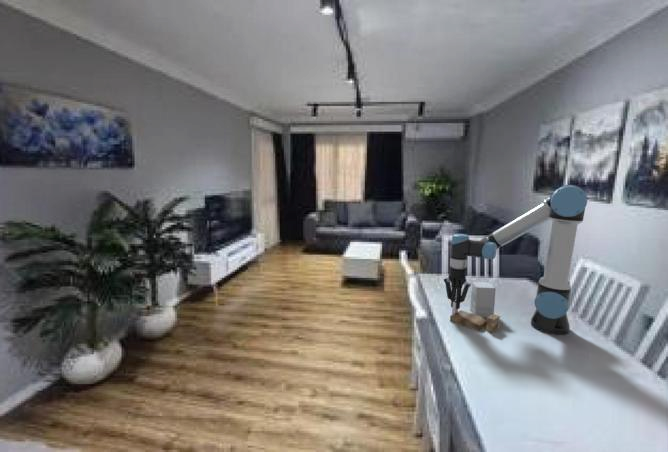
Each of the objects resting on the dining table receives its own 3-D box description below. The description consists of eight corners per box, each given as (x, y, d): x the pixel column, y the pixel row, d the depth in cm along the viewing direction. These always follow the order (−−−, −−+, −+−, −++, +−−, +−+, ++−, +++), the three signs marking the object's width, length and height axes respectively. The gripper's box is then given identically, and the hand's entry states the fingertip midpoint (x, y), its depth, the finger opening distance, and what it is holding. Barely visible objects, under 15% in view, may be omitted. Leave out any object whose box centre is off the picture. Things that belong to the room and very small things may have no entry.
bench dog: (498, 328, 164) (499, 316, 163) (492, 332, 160) (493, 319, 159) (491, 326, 166) (493, 314, 166) (486, 330, 162) (487, 317, 161)
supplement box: (488, 310, 185) (490, 282, 183) (493, 318, 176) (496, 288, 174) (469, 310, 186) (471, 281, 184) (474, 317, 177) (476, 287, 175)
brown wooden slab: (488, 325, 169) (489, 319, 169) (478, 331, 162) (479, 325, 162) (460, 316, 179) (460, 310, 179) (450, 321, 172) (450, 315, 172)
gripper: (475, 268, 170) (471, 316, 174) (449, 262, 180) (446, 308, 183) (467, 271, 165) (463, 320, 169) (441, 265, 175) (438, 312, 178)
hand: (454, 314), depth 176 cm, fingers closed
